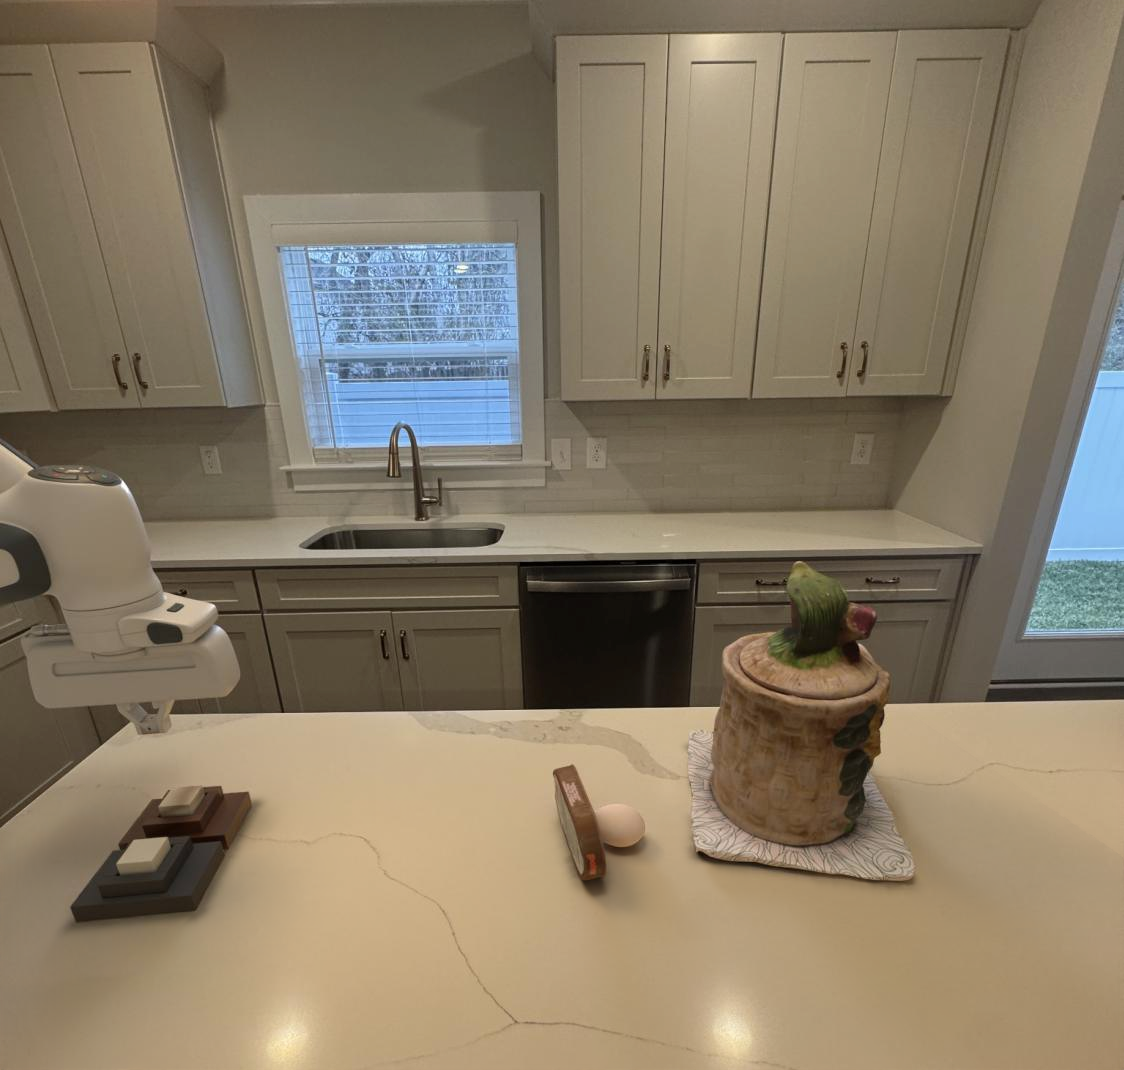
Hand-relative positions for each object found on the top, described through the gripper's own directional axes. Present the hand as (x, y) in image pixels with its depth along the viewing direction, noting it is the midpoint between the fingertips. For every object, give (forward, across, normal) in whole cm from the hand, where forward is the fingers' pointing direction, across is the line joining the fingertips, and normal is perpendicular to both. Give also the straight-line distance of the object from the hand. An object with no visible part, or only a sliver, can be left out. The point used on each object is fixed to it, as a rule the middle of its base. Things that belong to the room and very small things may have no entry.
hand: (155, 731), depth 70 cm
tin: (+16, +48, -8) cm, 51 cm away
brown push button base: (+15, 0, +1) cm, 15 cm away
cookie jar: (+16, +76, -3) cm, 77 cm away
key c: (+12, 0, -8) cm, 14 cm away
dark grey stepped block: (+15, 0, -8) cm, 17 cm away
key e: (+12, 0, +1) cm, 12 cm away
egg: (+13, +56, -8) cm, 58 cm away
